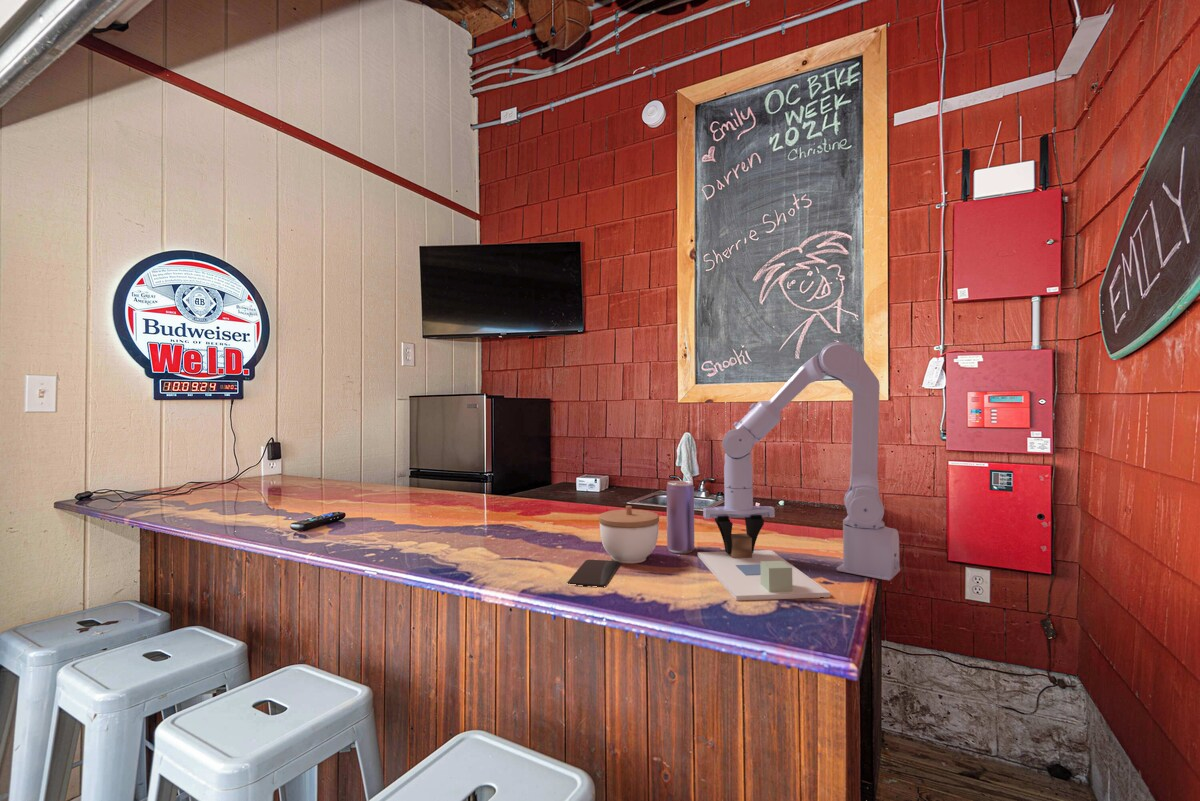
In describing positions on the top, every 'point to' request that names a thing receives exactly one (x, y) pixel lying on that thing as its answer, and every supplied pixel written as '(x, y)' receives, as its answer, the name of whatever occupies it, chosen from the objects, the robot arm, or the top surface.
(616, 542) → the lidded bowl
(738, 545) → the walnut block
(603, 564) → the smartphone
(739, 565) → the white flat panel
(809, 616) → the top surface
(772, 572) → the sage block
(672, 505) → the beverage can
